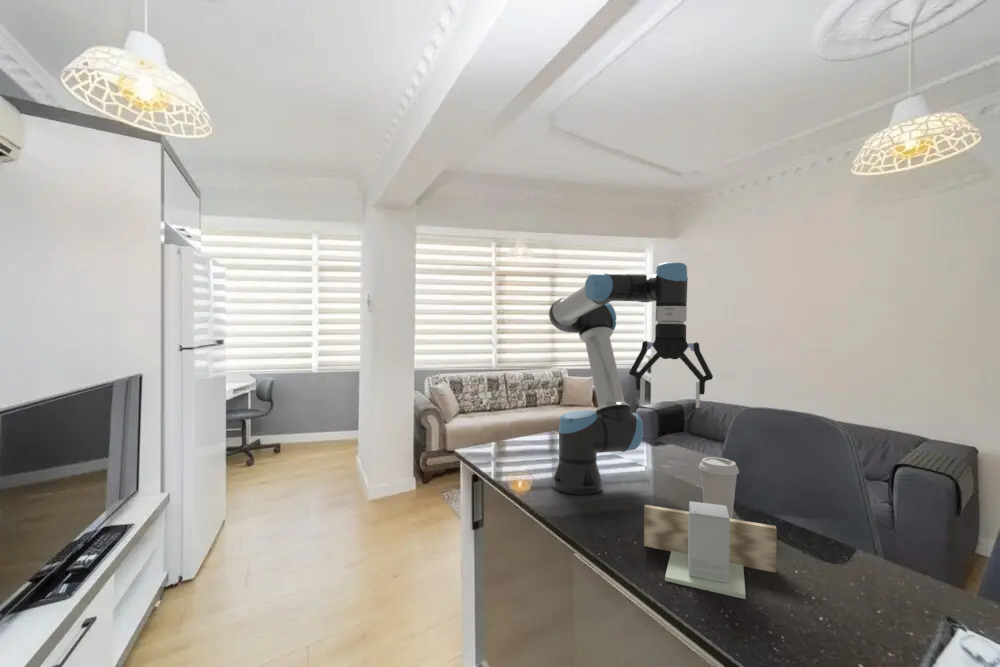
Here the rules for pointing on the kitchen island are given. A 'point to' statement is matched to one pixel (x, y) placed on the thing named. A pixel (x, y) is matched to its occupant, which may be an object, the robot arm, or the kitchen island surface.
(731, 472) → the coffee cup
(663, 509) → the wooden screen
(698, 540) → the supplement box
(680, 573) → the sage pad
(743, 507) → the kitchen island surface
